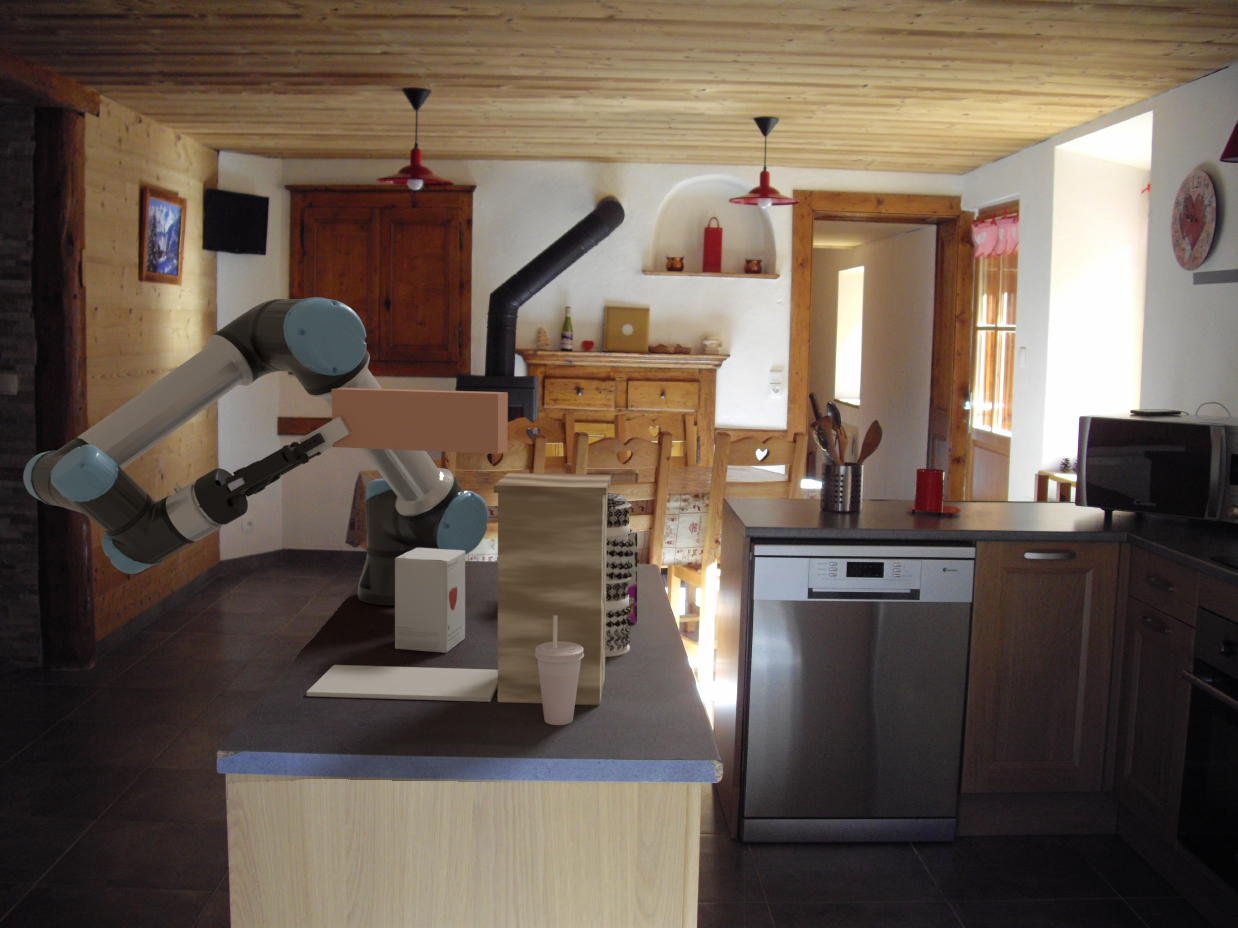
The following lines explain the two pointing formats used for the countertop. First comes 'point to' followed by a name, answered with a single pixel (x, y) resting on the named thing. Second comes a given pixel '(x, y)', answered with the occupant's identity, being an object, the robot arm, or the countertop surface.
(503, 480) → the stand
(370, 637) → the countertop surface
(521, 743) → the countertop surface
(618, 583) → the decorative candle
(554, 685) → the smoothie
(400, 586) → the supplement box
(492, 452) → the block
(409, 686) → the mat
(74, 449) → the robot arm
